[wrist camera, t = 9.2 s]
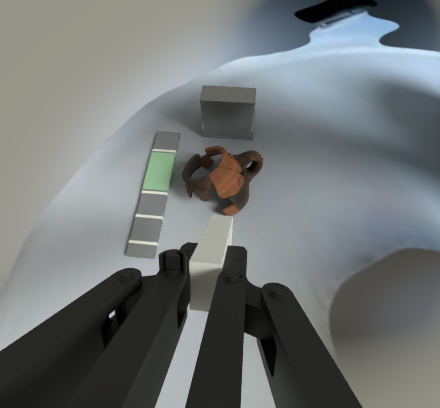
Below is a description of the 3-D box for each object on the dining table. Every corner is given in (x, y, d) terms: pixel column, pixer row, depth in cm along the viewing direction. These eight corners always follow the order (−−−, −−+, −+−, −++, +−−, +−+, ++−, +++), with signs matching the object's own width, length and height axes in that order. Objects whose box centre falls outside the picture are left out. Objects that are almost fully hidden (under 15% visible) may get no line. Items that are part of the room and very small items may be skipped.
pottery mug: (214, 232, 34) (184, 199, 28) (198, 196, 41) (171, 164, 35) (282, 188, 33) (265, 145, 27) (254, 159, 40) (235, 120, 34)
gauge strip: (154, 258, 32) (153, 257, 31) (127, 256, 32) (125, 255, 32) (180, 135, 40) (179, 132, 40) (158, 133, 41) (156, 131, 40)
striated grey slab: (252, 139, 40) (258, 103, 32) (202, 136, 40) (196, 100, 33) (253, 117, 41) (259, 78, 34) (205, 115, 42) (201, 76, 35)
